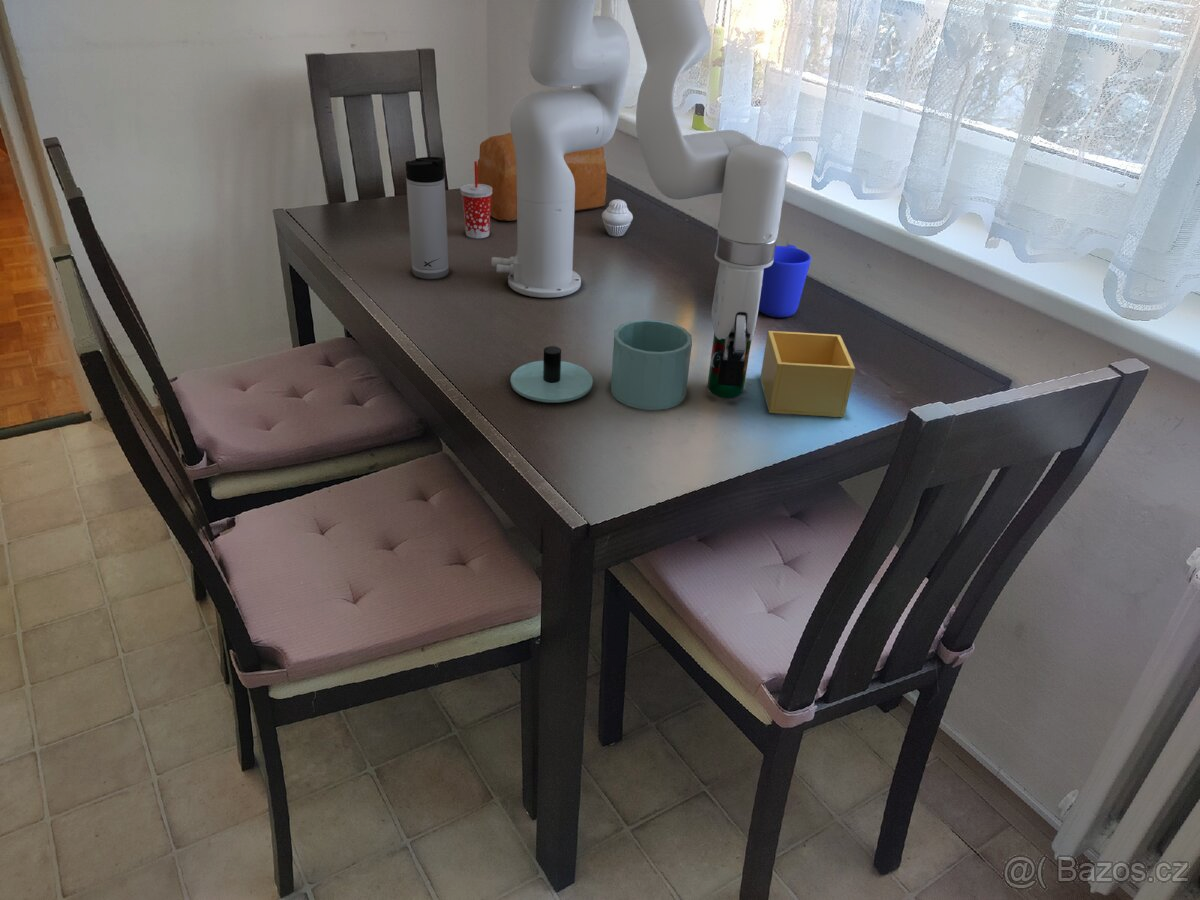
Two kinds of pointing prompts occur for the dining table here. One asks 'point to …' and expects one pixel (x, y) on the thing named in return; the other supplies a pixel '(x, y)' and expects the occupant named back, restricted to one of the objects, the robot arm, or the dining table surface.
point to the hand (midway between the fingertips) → (727, 373)
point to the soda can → (713, 385)
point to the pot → (650, 364)
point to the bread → (502, 176)
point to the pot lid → (551, 379)
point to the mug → (784, 282)
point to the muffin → (617, 218)
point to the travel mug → (427, 217)
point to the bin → (806, 374)
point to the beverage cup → (476, 208)
